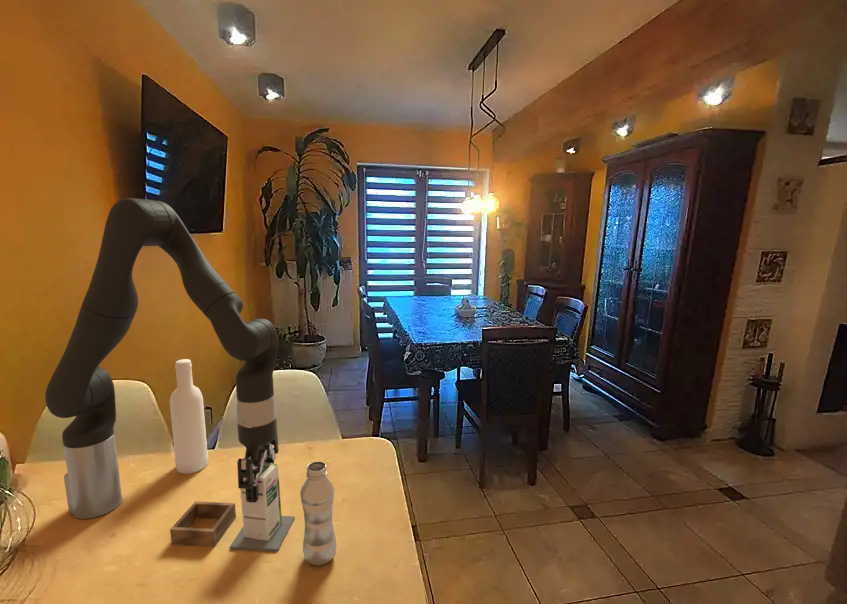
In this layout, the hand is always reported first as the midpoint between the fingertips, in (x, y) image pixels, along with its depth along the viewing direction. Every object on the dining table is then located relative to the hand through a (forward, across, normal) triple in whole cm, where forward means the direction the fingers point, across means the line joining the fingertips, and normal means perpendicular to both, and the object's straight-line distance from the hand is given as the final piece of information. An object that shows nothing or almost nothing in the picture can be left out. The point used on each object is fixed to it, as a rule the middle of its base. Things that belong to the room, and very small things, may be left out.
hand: (261, 488), depth 92 cm
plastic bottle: (+11, +6, +14) cm, 19 cm away
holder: (+11, 0, -13) cm, 17 cm away
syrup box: (+10, 0, 0) cm, 10 cm away
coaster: (+11, 0, 0) cm, 11 cm away
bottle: (+11, -24, -30) cm, 40 cm away
